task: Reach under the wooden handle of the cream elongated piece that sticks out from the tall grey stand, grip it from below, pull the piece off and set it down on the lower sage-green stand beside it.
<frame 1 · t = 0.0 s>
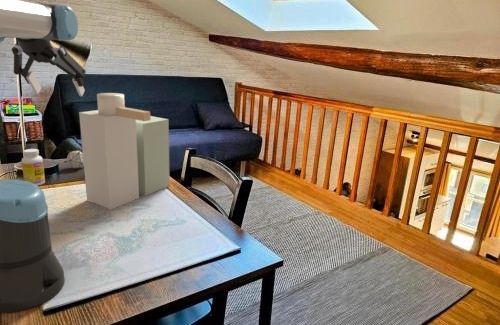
hand: (60, 92, 112), 36 cm above the table, tool tilted 35°, fingers open, 13 cm apart
game die: (77, 168, 153), on the table
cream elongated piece: (111, 113, 114), point 30 cm above the table, touching tall stand
tall stand: (113, 199, 124), on the table
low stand: (146, 186, 137), on the table
supplement bottle: (35, 184, 134), on the table
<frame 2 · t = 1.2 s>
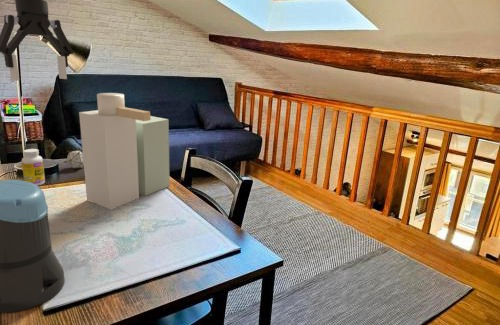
hand: (40, 79, 102), 40 cm above the table, tool pointing down, fingers open, 13 cm apart
nothing on the table moved.
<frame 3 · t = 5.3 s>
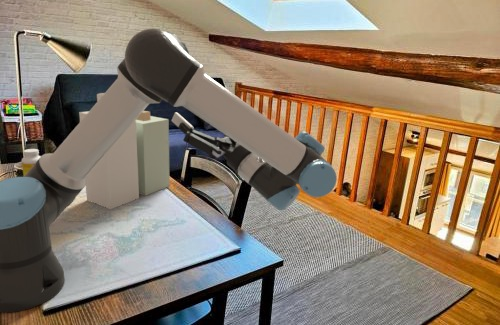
hand: (191, 113, 99), 34 cm above the table, tool pointing upward, fingers open, 13 cm apart
nothing on the table moved.
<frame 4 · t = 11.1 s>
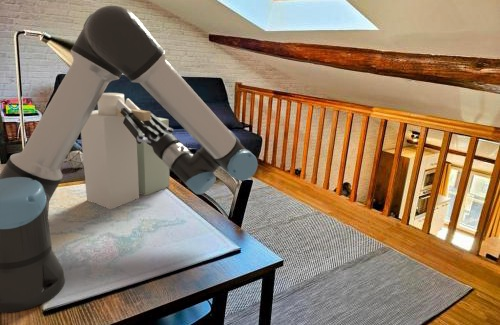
hand: (122, 102, 111), 34 cm above the table, tool pointing upward, fingers closed on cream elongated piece, 2 cm apart
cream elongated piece: (111, 113, 114), point 30 cm above the table, touching gripper
everything else where it was.
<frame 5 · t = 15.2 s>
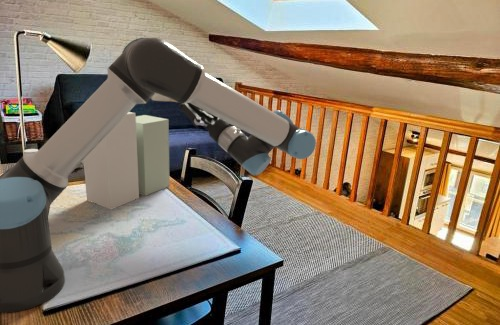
hand: (175, 88, 115), 39 cm above the table, tool pointing upward, fingers closed on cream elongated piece, 2 cm apart
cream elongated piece: (164, 99, 119), point 35 cm above the table, touching gripper
everything else where it was.
when the fingers open (31 cm above the table, at t = 19.3 s): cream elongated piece drops 1 cm, resting on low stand.
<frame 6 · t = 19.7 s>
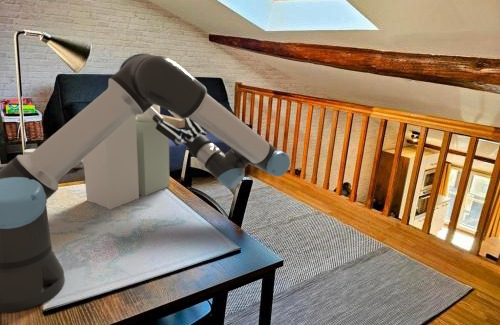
hand: (160, 108, 124), 31 cm above the table, tool pointing upward, fingers open, 9 cm apart
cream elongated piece: (148, 119, 128), point 26 cm above the table, touching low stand
everything else where it was.
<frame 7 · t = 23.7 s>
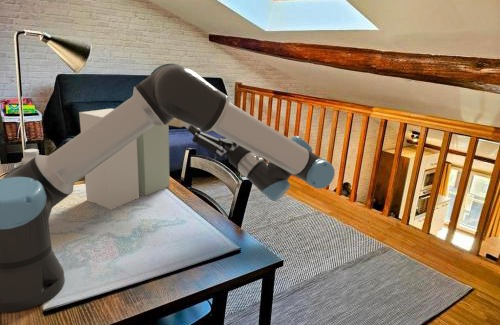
hand: (198, 117, 115), 30 cm above the table, tool pointing upward, fingers open, 13 cm apart
nothing on the table moved.
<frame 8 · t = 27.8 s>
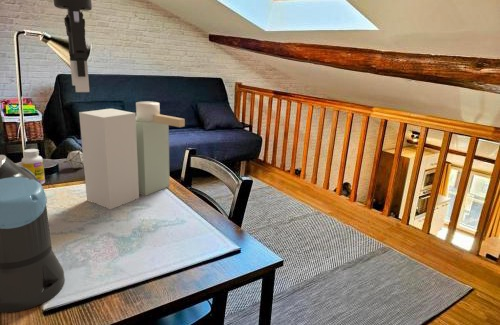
hand: (80, 88, 85), 41 cm above the table, tool pointing down, fingers open, 13 cm apart
nothing on the table moved.
at the end: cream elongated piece inside the target area on the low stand (0.8 cm from its centre), point 26.0 cm above the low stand's base; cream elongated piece tilted 0°; the gripper is holding nothing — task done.
